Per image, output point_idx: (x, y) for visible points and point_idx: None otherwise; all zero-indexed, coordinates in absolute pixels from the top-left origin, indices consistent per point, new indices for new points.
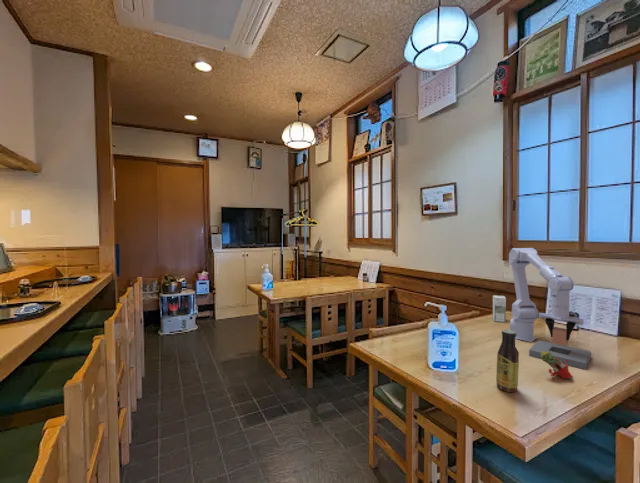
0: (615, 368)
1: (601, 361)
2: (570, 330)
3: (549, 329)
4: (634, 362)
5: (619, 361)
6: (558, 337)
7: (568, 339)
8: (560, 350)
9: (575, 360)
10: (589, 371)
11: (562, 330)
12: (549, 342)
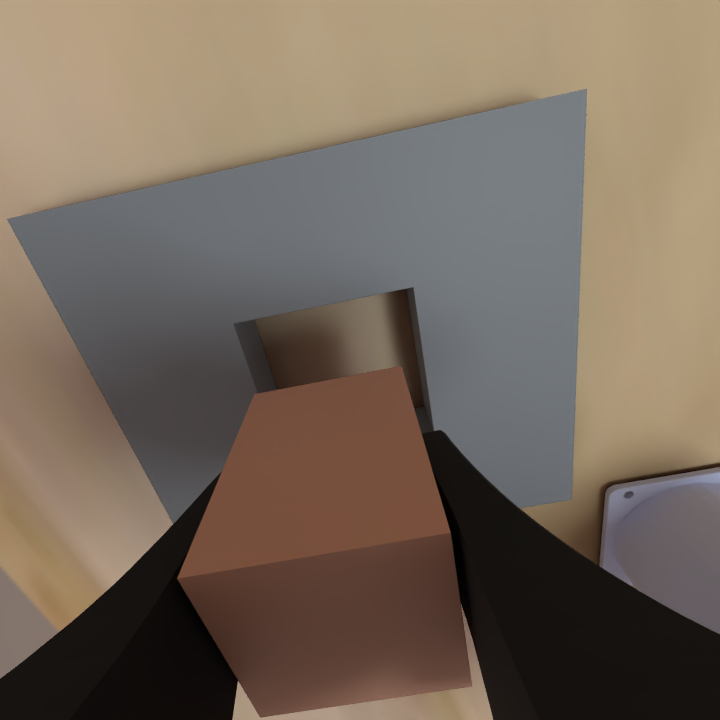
0: (8, 449)
1: (133, 501)
2: (57, 640)
3: (510, 508)
4: (48, 619)
5: (89, 578)
6: (332, 439)
7: (214, 480)
8: None
9: (101, 213)
10: (18, 201)
11: (271, 596)
12: None
